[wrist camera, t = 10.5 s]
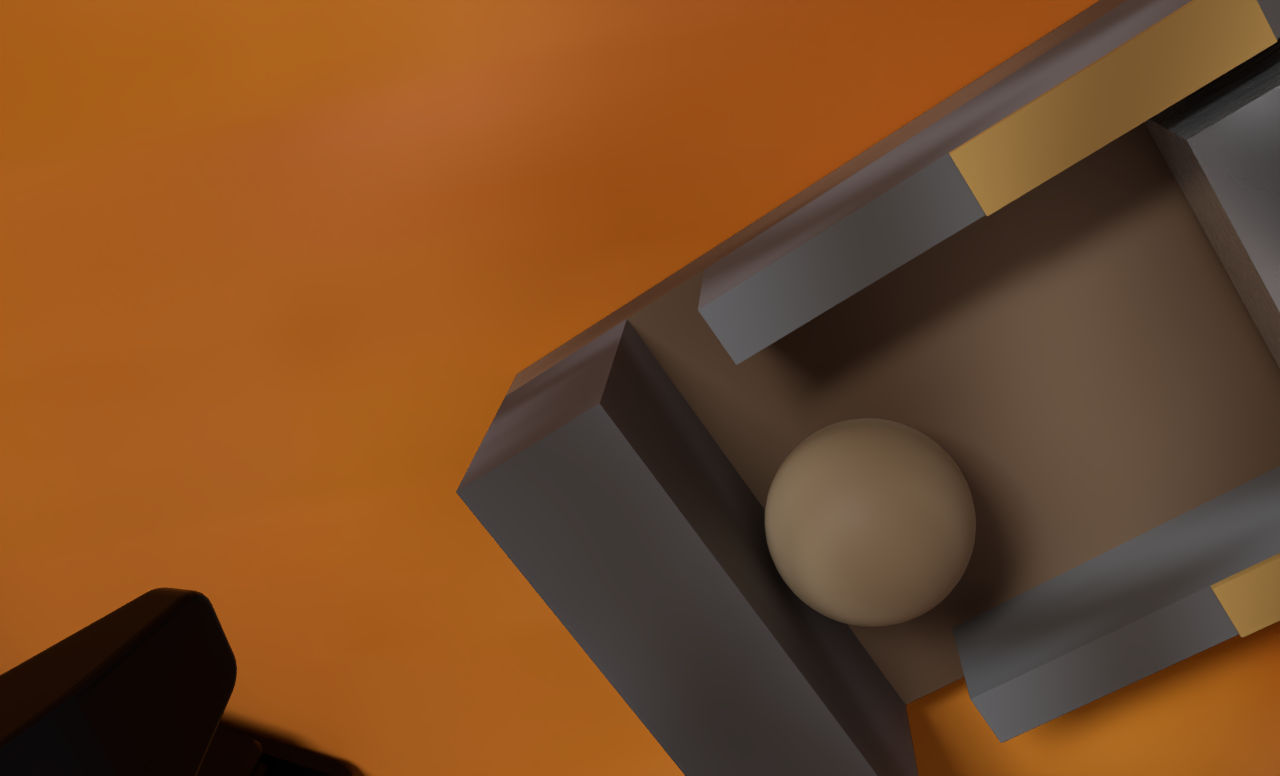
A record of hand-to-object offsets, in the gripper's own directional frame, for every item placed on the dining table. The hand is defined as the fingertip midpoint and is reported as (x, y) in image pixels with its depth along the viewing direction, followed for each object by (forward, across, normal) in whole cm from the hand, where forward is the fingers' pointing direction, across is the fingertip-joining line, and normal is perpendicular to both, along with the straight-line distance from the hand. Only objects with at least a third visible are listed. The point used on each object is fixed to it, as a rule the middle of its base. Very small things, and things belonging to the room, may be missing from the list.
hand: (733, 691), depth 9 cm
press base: (+13, -5, +3) cm, 14 cm away
